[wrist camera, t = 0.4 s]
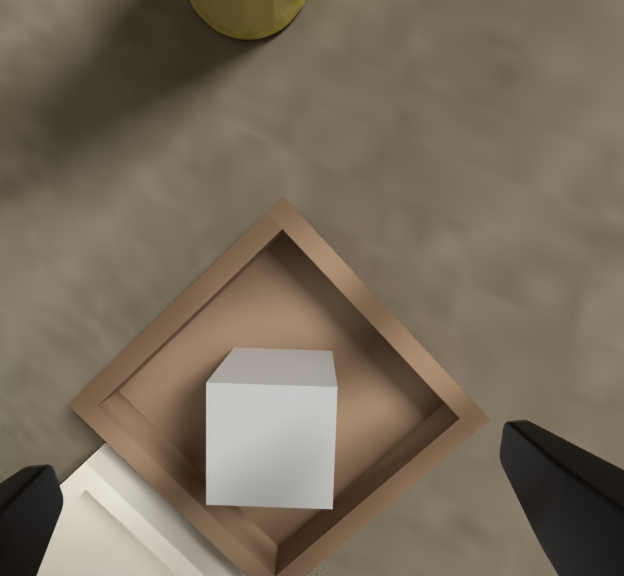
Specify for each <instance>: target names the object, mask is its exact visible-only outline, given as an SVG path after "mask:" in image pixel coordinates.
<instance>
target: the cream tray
mask: <svg viewBox="0 0 624 576" xmlns="http://www.w3.org/2000/svg"><path fill="white" fill-rule="evenodd" d="M60 488H61V491H62V494H63V508H62V511H61V514H60V516H59V519H58V522H57V524H56V527H55V529H54V532H53V535H52V537H51V540H50V542H49V545H48V548H47V550H46V553H45V555H44V558H43V561H42V563H41V566H40V568H39V571H38V574H37V576H246V575H245V574H244V573H242V572H241V571H240V570H239V569H238V568H237V567H236V566H235V565H234V564H233V563H232V562H231V561H230V560H229V559H228V558H227V557H226V556H225V555H224V554H223V553H222V552H221V551H220V550H218V549H217V548H216V547H215V546H214V545H213V544H212V543H211V542H210V541H209V540H208V539H207V538H206V537H205V536H204V535H203V534H202V533H201V532H200V531H199V530H198V529H197V528H196V527H194V526H193V525H192V524H191V523H190V522H189V521H188V520H187V519H186V518H185V517H184V516H183V515H182V514H181V513H180V512H179V511H178V510H177V509H176V508H175V507H174V506H173V505H172V504H170V503H169V502H168V501H167V500H166V499H165V498H164V497H163V496H162V495H161V494H160V493H159V492H158V491H157V490H156V489H155V488H154V487H153V486H152V485H151V484H150V483H149V482H148V481H146V480H145V479H144V478H143V477H142V476H141V475H140V474H139V473H138V472H137V471H136V470H135V469H134V468H133V467H132V466H131V465H130V464H129V463H128V462H127V461H126V460H125V459H124V458H122V457H121V456H120V455H119V454H118V453H117V452H116V451H115V450H114V449H113V448H112V447H111V446H110V445H109V444H108V443H107V442H106V443H105V444H104V445H103V446H102V447H100V448H99V449H98V450H97V451H96V452H95V453H94V454H93V455H92V456H91V457H90V458H89V459H88V460H87V461H86V462H85V463H83V464H82V465H81V466H80V467H79V468H78V469H77V470H76V471H75V472H74V473H73V474H72V475H71V476H70V477H69V478H68V479H67V480H65V481H64V482H63V483H62V484H61V485H60Z"/></svg>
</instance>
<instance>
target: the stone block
mask: <svg viewBox="0 0 624 576" xmlns="http://www.w3.org/2000/svg"><path fill="white" fill-rule="evenodd" d="M337 389H338V386H337V380H336V373H335V367H334V360H333V354H332V351H325V350H295V349H265V348H235V347H234V348H233V349H232V351H231V352H230V353H229V354H228V356H227V357H226V358H225V359H224V361H223V362H222V363H221V365H220V366H219V367H218V368H217V370H216V371H215V372H214V373H213V375H212V376H211V377H210V378H209V380H208V381H207V382H206V505H227V506H255V507H283V508H311V509H333V488H334V463H335V439H336V414H337Z"/></svg>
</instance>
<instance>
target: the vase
mask: <svg viewBox="0 0 624 576" xmlns="http://www.w3.org/2000/svg"><path fill="white" fill-rule="evenodd" d="M305 1H306V0H190V3H191V5H192V6H193V8H194V9H195V11H196V12H197V13H198V14H199V15H200V17H201V18H203V19H204V20H205V21H206V22H207V23H208V24H209V25H210V26H211V27H212V28H214V29H215V30H216V31H218V32H220V33H222V34H224V35H227V36H230V37H233V38H236V39H243V40H253V39H260V38H264V37H267V36H270V35H272V34H274V33H277V32H278V31H280V30H281V29H283V28H284V27H285V26H287V25H288V24H289V23H290V22H291V21H292V19H293V18H294V17H295V16H296V15H297V13H298V12H299V11H300V9H301V8H302V6H303V5H304V3H305Z"/></svg>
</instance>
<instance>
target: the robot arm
mask: <svg viewBox="0 0 624 576" xmlns="http://www.w3.org/2000/svg"><path fill="white" fill-rule="evenodd" d="M500 460H501V464H502V466H503V468H504V470H505V473H506V475H507V477H508V479H509V481H510V483H511V485H512V487H513V489H514V491H515V493H516V496H517V498H518V500H519V502H520V504H521V506H522V508H523V510H524V512H525V514H526V517H527V519H528V521H529V523H530V525H531V527H532V529H533V531H534V533H535V535H536V537H537V539H538V541H539V543H540V545H541V546H542V548H543V550H544V552H545V553H546V555H547V557H548V559H549V560H550V562H551V564H552V565H553V567H554V569H555V570H556V572H557V574H558V575H559V576H624V470H623V469H621V468H619V467H617V466H615V465H613V464H611V463H609V462H607V461H605V460H603V459H601V458H599V457H597V456H595V455H594V454H592V453H590V452H588V451H586V450H584V449H582V448H580V447H578V446H576V445H574V444H572V443H570V442H568V441H566V440H565V439H563V438H561V437H559V436H557V435H555V434H553V433H551V432H549V431H547V430H545V429H543V428H541V427H539V426H537V425H536V424H534V423H532V422H530V421H527V420H516V421H508V422H506V423H505V425H504V428H503V434H502V440H501V447H500ZM62 508H63V494H62V491H61V488H60V485H59V482H58V479H57V476H56V474H55V471H54V469H53V467H52V466H50V465H47V464H45V465H34V466H28V467H25V468H23V469H21V470H20V471H18V472H17V473H15V474H14V475H12V476H11V477H9V478H8V479H6V480H5V481H3V482H2V483H0V576H37V574H38V571H39V568H40V566H41V563H42V561H43V558H44V555H45V553H46V550H47V548H48V545H49V542H50V540H51V537H52V535H53V532H54V529H55V527H56V524H57V522H58V519H59V516H60V514H61V511H62Z"/></svg>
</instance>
